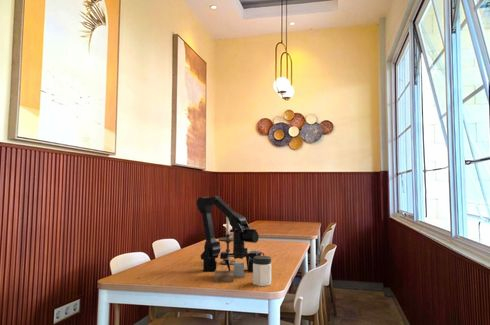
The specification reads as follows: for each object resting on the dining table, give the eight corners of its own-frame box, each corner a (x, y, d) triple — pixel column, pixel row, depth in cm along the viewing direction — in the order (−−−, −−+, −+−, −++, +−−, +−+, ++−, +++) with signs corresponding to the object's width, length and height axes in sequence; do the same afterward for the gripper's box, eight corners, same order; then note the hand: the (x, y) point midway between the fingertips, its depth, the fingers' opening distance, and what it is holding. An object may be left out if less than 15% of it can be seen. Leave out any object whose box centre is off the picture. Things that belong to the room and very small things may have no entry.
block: (233, 276, 177) (233, 264, 177) (234, 274, 182) (234, 262, 182) (243, 276, 177) (243, 264, 177) (243, 274, 182) (243, 262, 182)
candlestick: (239, 264, 205) (239, 203, 207) (221, 265, 202) (221, 203, 204) (234, 261, 215) (234, 202, 218) (216, 262, 212) (216, 203, 214)
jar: (275, 283, 163) (275, 257, 164) (264, 287, 157) (264, 259, 158) (260, 280, 170) (260, 254, 170) (249, 283, 164) (249, 257, 164)
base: (214, 281, 167) (214, 275, 167) (215, 277, 176) (215, 270, 176) (233, 281, 167) (233, 275, 167) (233, 277, 176) (233, 270, 176)
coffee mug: (247, 272, 185) (247, 253, 185) (243, 269, 193) (243, 250, 194) (269, 271, 188) (268, 252, 189) (263, 268, 196) (263, 249, 197)
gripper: (219, 243, 173) (219, 276, 171) (257, 243, 173) (258, 276, 172) (220, 240, 184) (220, 271, 183) (257, 240, 184) (257, 271, 183)
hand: (238, 272), depth 180 cm, fingers open, 9 cm apart
